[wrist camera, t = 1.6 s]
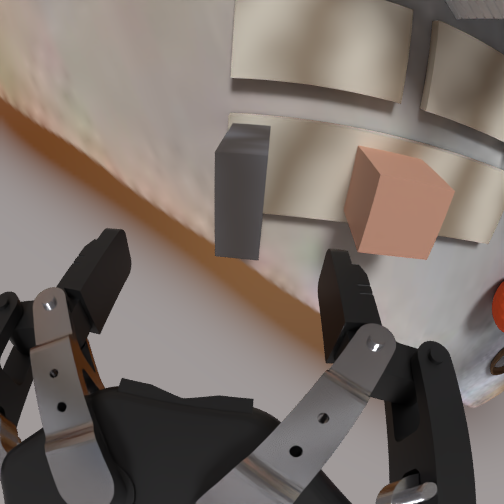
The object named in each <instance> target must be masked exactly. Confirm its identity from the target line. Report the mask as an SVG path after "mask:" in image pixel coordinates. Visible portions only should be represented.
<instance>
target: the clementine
mask: <svg viewBox="0 0 504 504" xmlns="http://www.w3.org/2000/svg"><path fill="white" fill-rule="evenodd" d="M492 315H493V318H494V321H495V324H496V325H497V327H498V328H499V329H500V330H501V331H502V332H504V281H503V282H502V283H501V284H500V286H499V287H498V289H497V291H496V293H495V295H494V298H493V303H492Z"/></svg>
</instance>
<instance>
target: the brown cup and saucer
mask: <svg viewBox="0 0 504 504" xmlns="http://www.w3.org/2000/svg"><path fill="white" fill-rule="evenodd" d="M503 355H504V348H503V349H502V350H501V351H500V352H499V353H498V354H497V355H496V356H495V358H494V359H493V361H492V363H491V366H490V371H491V374H493V375H500V374H503V373H504V366H502V367H494V366H495V364H496V363H497V362H498V361H499V359H500V358H501V357H502V356H503Z"/></svg>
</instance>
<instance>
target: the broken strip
mask: <svg viewBox="0 0 504 504" xmlns="http://www.w3.org/2000/svg"><path fill="white" fill-rule="evenodd" d="M412 20H413V10H412V9H410V8H407V7H404V6H401V5H398V4H395V3H392V2H389V1H386V0H236V2H235V16H234V31H233V47H232V64H231V78H246V79H262V80H273V81H284V82H293V83H301V84H308V85H315V86H321V87H328V88H333V89H339V90H344V91H350V92H354V93H359V94H364V95H368V96H373V97H377V98H381V99H385V100H389V101H393V102H396V103H400V104H401V100H402V95H403V89H404V83H405V77H406V70H407V64H408V56H409V49H410V40H411V31H412ZM420 109H422V110H425V111H427V112H430V113H433V114H436V115H439V116H442V117H445V118H447V119H450V120H453V121H456V122H458V123H461V124H463V125H466V126H468V127H471V128H473V129H476V130H478V131H480V132H483V133H485V134H487V135H490V136H492V137H494V138H496V139H498V140H501V141H503V142H504V55H503V54H502V53H500V52H499V51H497V50H495V49H494V48H492V47H490V46H489V45H487V44H485V43H483V42H482V41H480V40H478V39H476V38H474V37H473V36H471V35H469V34H467V33H465V32H463V31H461V30H459V29H457V28H455V27H453V26H451V25H448V24H446V23H444V22H442V21H440V20H438V21H432V33H431V42H430V50H429V58H428V65H427V72H426V78H425V84H424V90H423V95H422V101H421V106H420Z"/></svg>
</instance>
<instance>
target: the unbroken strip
mask: <svg viewBox="0 0 504 504" xmlns="http://www.w3.org/2000/svg"><path fill="white" fill-rule="evenodd" d="M358 146H364V147H369V148H374V149H379V150H384V151H388V152H393V153H397V154H402V155H406V156H410V157H414V158H418V159H422V160H423V161H424V162H425V163H426V164H428V165H429V166H430V167H431V168H432V169H433V170H434V171H435V172H436V173H437V174H438V175H439V176H440V177H441V178H442V179H443V180H444V181H445V182H446V183H447V184H448V185H449V186H450V187H451V188H452V189H453V190H454V191H455V193H454V196H453V198H452V201H451V204H450V206H449V209H448V211H447V214H446V217H445V219H444V221H443V224H442V226H441V229H440V231H439V233H438V236H444V237H450V238H456V239H462V240H468V241H474V242H479V243H485V244H489V242H490V239H491V237H492V235H493V233H494V231H495V229H496V227H497V225H498V222H499V220H500V218H501V216H502V213H503V211H504V171H503V170H501V169H498V168H496V167H493V166H491V165H488V164H485V163H483V162H480V161H477V160H475V159H472V158H469V157H466V156H463V155H460V154H457V153H454V152H451V151H448V150H445V149H441V148H438V147H435V146H431V145H428V144H424V143H421V142H417V141H413V140H409V139H405V138H401V137H397V136H393V135H389V134H385V133H380V132H376V131H371V130H366V129H361V128H356V127H350V126H345V125H339V124H333V123H327V122H321V121H314V120H306V119H299V118H290V117H281V116H271V115H260V114H246V113H230V114H229V116H228V132H227V133H226V135H225V137H224V138H223V140H222V141H221V143H220V145H219V146H218V148H217V150H216V151H215V256H220V257H230V258H240V259H250V260H258V258H259V248H260V238H261V227H262V217H263V213H264V214H274V215H284V216H294V217H303V218H312V219H321V220H329V221H338V222H346V223H348V222H347V219H346V216H345V213H344V206H345V202H346V198H347V193H348V189H349V185H350V180H351V176H352V171H353V167H354V162H355V157H356V153H357V148H358Z"/></svg>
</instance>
